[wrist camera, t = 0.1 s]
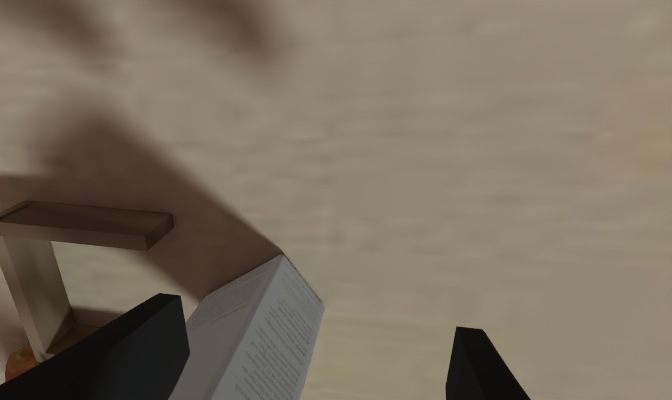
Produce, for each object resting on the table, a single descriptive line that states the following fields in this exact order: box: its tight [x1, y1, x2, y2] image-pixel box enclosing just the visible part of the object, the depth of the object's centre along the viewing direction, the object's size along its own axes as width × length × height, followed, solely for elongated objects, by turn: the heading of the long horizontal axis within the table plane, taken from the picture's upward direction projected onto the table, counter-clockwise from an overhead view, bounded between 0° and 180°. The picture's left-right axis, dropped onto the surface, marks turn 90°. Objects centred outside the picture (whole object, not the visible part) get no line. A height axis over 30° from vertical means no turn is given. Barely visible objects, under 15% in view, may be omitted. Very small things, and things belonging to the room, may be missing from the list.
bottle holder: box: [0, 201, 173, 362], centre depth 23 cm, size 10×9×2 cm
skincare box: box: [168, 254, 324, 400], centre depth 17 cm, size 6×4×12 cm
